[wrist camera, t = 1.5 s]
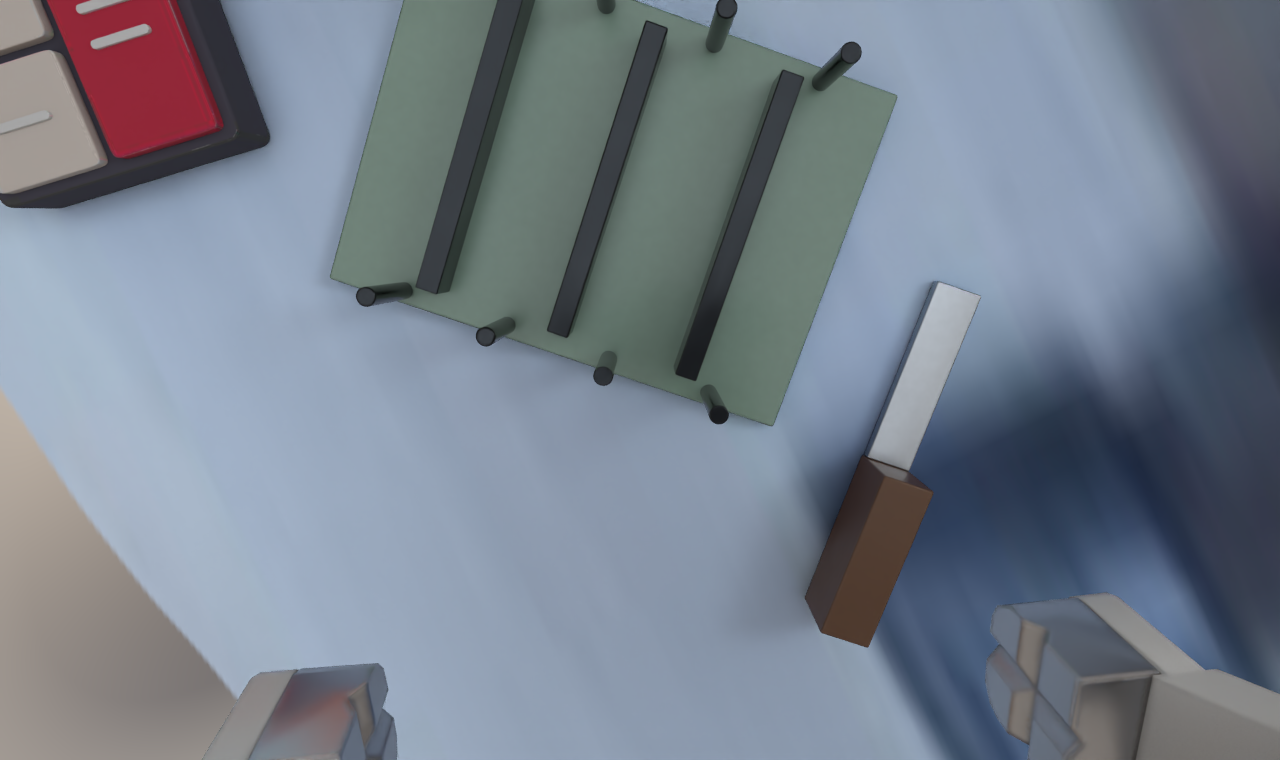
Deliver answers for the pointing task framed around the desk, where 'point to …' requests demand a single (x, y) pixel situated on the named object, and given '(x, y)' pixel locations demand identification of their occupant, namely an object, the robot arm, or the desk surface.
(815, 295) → the rack
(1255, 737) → the robot arm
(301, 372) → the desk surface
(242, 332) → the desk surface
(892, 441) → the knife
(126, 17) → the calculator
